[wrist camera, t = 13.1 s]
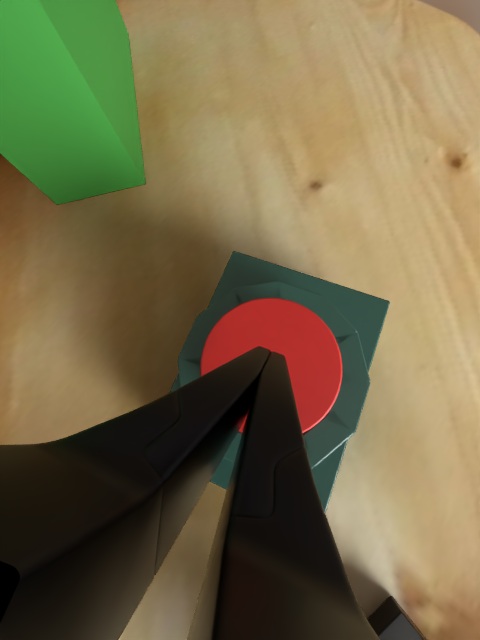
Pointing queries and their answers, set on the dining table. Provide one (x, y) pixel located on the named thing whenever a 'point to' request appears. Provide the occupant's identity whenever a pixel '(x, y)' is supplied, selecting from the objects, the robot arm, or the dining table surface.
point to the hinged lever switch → (393, 623)
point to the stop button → (282, 350)
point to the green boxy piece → (345, 324)
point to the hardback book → (69, 97)
